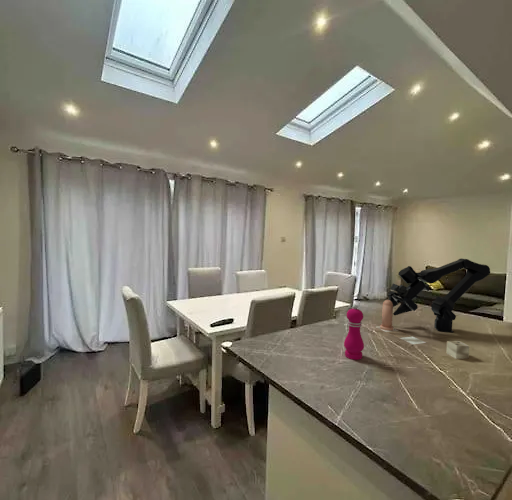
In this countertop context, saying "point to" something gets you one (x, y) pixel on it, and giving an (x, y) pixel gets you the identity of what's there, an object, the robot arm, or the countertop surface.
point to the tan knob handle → (387, 316)
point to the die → (457, 350)
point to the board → (401, 334)
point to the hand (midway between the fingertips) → (389, 312)
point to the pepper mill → (354, 334)
